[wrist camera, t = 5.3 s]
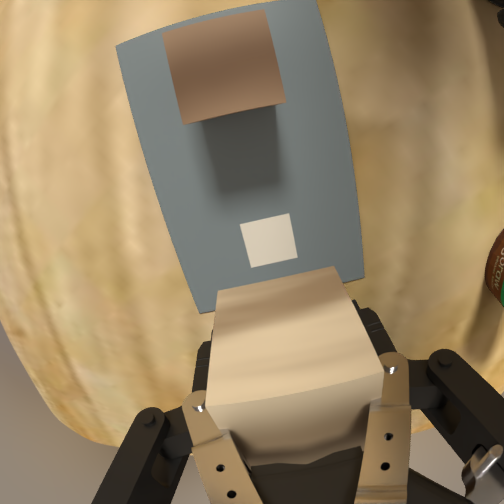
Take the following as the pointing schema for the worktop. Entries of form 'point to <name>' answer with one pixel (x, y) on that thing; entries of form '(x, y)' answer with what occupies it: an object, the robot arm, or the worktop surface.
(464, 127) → the worktop surface
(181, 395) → the worktop surface
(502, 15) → the milk frother
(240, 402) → the maple block
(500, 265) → the food container
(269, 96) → the walnut block
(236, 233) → the mat
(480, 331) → the worktop surface
